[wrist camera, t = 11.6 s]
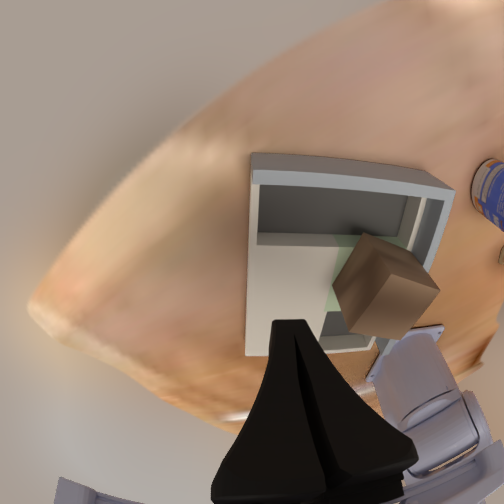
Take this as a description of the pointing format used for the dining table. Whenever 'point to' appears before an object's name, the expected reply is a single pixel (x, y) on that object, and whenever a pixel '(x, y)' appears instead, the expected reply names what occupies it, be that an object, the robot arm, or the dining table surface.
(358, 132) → the dining table surface
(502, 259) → the grandmother figurine
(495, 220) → the pill bottle
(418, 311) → the walnut block
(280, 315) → the board
